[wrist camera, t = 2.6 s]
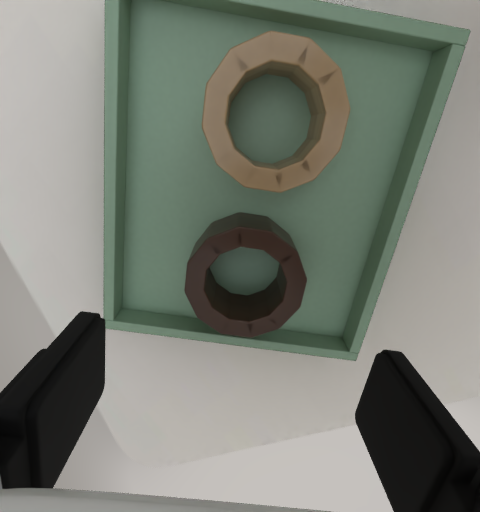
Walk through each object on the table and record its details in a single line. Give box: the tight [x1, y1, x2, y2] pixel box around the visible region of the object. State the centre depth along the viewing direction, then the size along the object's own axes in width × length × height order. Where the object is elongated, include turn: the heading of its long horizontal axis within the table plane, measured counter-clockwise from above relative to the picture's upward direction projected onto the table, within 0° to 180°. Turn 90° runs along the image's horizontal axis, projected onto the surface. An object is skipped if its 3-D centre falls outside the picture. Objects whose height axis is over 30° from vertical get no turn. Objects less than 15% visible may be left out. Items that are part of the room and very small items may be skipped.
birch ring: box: [202, 31, 351, 193], centre depth 15 cm, size 6×6×3 cm
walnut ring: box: [184, 212, 307, 338], centre depth 17 cm, size 6×6×3 cm
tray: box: [104, 0, 470, 361], centre depth 17 cm, size 17×15×2 cm
